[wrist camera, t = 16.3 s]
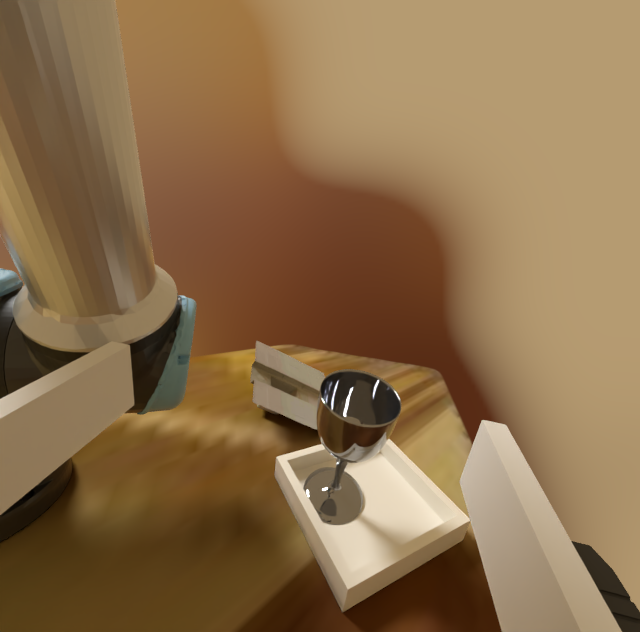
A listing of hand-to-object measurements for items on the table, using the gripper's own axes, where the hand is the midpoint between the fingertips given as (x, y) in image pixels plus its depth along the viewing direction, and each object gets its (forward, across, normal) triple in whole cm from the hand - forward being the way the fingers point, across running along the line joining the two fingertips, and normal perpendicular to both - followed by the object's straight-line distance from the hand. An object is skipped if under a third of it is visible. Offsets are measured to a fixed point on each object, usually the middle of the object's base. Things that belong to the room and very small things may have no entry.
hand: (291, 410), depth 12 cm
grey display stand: (+35, -6, -27) cm, 45 cm away
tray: (+20, +6, -26) cm, 33 cm away
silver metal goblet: (+19, +3, -25) cm, 32 cm away
